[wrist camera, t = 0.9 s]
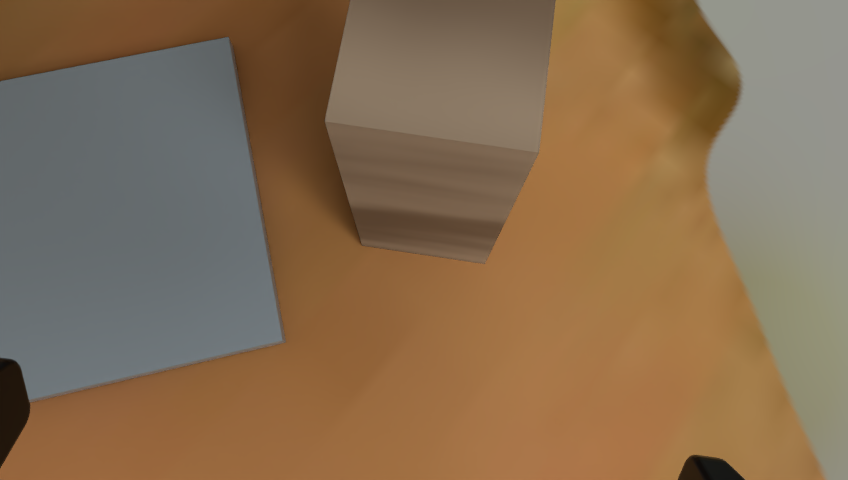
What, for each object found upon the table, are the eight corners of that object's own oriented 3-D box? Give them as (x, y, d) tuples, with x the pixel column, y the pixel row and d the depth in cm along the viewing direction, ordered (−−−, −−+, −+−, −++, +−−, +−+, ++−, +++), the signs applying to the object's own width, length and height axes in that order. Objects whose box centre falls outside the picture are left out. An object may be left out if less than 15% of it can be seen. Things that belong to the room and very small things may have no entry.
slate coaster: (285, 342, 22) (282, 340, 21) (-73, 426, 21) (-86, 426, 20) (232, 45, 25) (228, 36, 24) (-81, 107, 24) (-94, 99, 23)
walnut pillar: (484, 263, 22) (539, 152, 13) (362, 245, 23) (324, 121, 13) (499, 150, 24) (558, -30, 14) (382, 133, 24) (362, -57, 14)
